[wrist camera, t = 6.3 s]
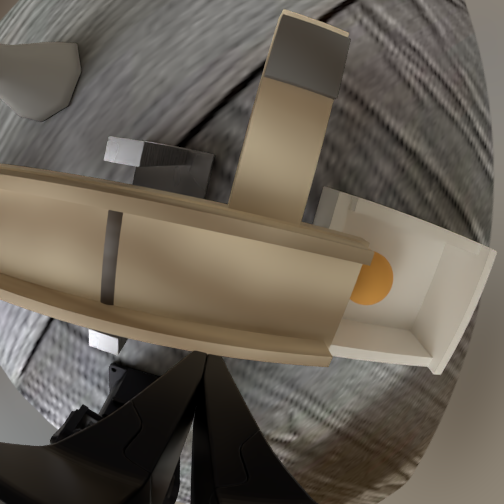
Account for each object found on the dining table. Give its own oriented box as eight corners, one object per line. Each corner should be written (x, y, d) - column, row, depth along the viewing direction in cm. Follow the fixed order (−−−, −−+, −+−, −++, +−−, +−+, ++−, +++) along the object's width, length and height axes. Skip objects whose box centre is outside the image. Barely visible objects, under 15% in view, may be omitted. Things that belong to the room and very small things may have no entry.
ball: (372, 297, 21) (388, 319, 18) (328, 286, 21) (339, 308, 18) (388, 251, 20) (409, 267, 17) (344, 238, 20) (359, 252, 17)
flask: (90, 32, 16) (17, -16, 7) (78, 115, 18) (-14, 99, 9) (25, 53, 16) (-50, 28, 7) (14, 128, 18) (-72, 128, 9)
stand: (185, 291, 22) (150, 367, 13) (123, 274, 22) (62, 336, 13) (215, 154, 19) (186, 146, 11) (145, 140, 19) (75, 129, 10)
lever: (311, 323, 18) (346, 387, 12) (-22, 249, 13) (-77, 283, 8) (382, 76, 14) (449, 53, 8) (20, 17, 9) (-31, -12, 4)
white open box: (409, 334, 23) (440, 374, 18) (284, 312, 23) (294, 358, 17) (450, 230, 21) (497, 251, 15) (323, 185, 20) (351, 194, 14)
